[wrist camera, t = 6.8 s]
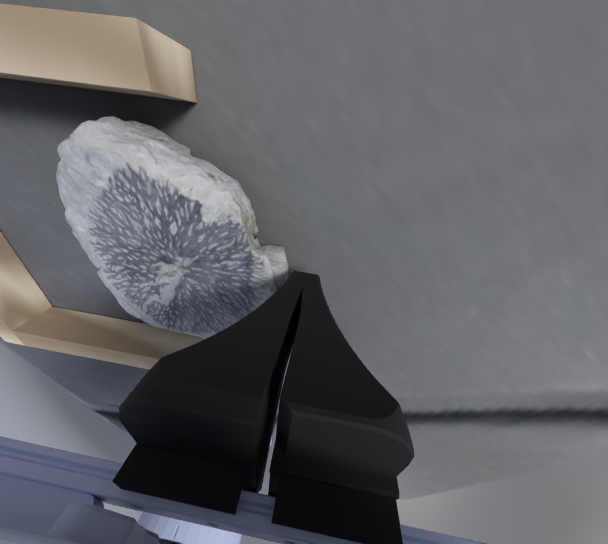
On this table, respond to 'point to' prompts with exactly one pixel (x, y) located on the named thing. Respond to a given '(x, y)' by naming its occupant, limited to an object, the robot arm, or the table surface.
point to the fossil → (165, 228)
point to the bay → (98, 76)
